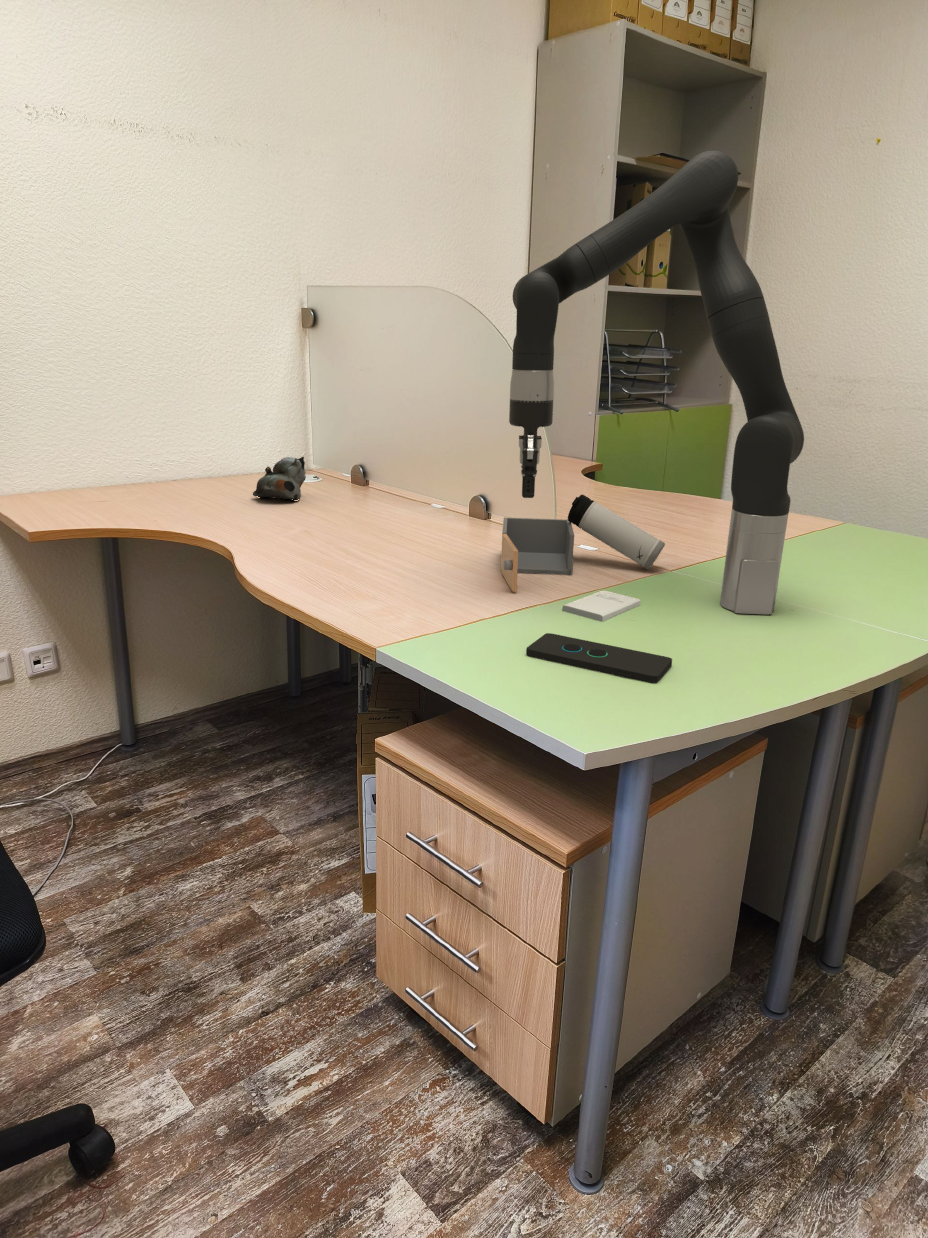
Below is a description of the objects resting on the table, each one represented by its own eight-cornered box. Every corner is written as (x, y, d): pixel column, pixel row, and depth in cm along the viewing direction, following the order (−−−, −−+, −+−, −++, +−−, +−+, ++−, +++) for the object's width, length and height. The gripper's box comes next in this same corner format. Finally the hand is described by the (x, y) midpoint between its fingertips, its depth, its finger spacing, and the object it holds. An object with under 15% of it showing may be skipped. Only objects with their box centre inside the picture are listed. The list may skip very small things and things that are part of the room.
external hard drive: (561, 613, 144) (600, 597, 153) (602, 624, 139) (640, 607, 148) (562, 604, 143) (601, 588, 152) (603, 615, 138) (641, 598, 147)
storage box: (571, 574, 164) (574, 535, 162) (500, 572, 165) (502, 532, 163) (568, 556, 178) (570, 519, 175) (502, 554, 178) (503, 517, 176)
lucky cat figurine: (248, 496, 231) (263, 449, 232) (289, 511, 236) (304, 465, 237) (259, 490, 217) (275, 440, 219) (302, 506, 222) (317, 457, 224)
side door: (504, 591, 152) (506, 551, 149) (493, 571, 164) (495, 533, 162) (516, 591, 152) (518, 551, 150) (504, 571, 164) (506, 533, 162)
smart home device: (547, 631, 130) (673, 656, 121) (546, 641, 130) (672, 667, 121) (524, 647, 123) (657, 676, 114) (524, 658, 124) (655, 687, 115)
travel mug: (651, 563, 164) (565, 511, 168) (646, 573, 170) (563, 523, 174) (668, 538, 165) (582, 487, 169) (662, 549, 172) (580, 500, 175)
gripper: (555, 400, 137) (550, 504, 143) (551, 394, 150) (547, 491, 155) (509, 399, 137) (506, 503, 143) (510, 394, 150) (507, 490, 156)
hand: (528, 496), depth 149 cm, fingers closed
